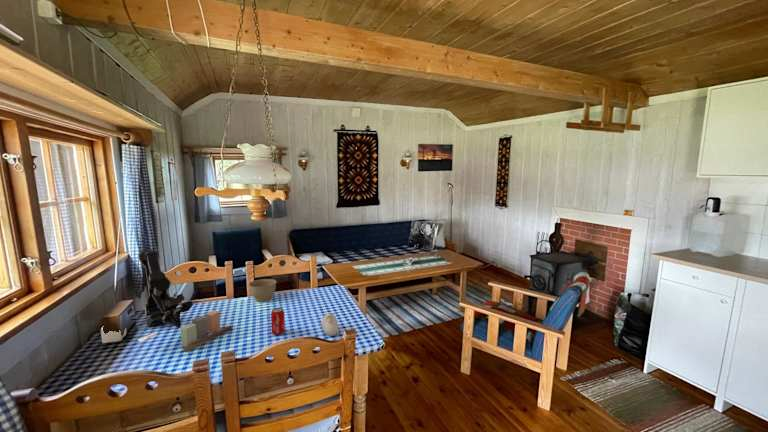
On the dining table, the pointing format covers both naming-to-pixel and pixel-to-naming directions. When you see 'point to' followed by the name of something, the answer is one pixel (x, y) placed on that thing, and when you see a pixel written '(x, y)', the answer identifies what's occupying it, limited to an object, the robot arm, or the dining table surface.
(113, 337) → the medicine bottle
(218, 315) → the key terracotta
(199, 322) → the key grey
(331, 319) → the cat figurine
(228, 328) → the key console
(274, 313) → the soda can
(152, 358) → the dining table surface
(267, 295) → the planter bowl
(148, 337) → the tile
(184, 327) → the key sage
